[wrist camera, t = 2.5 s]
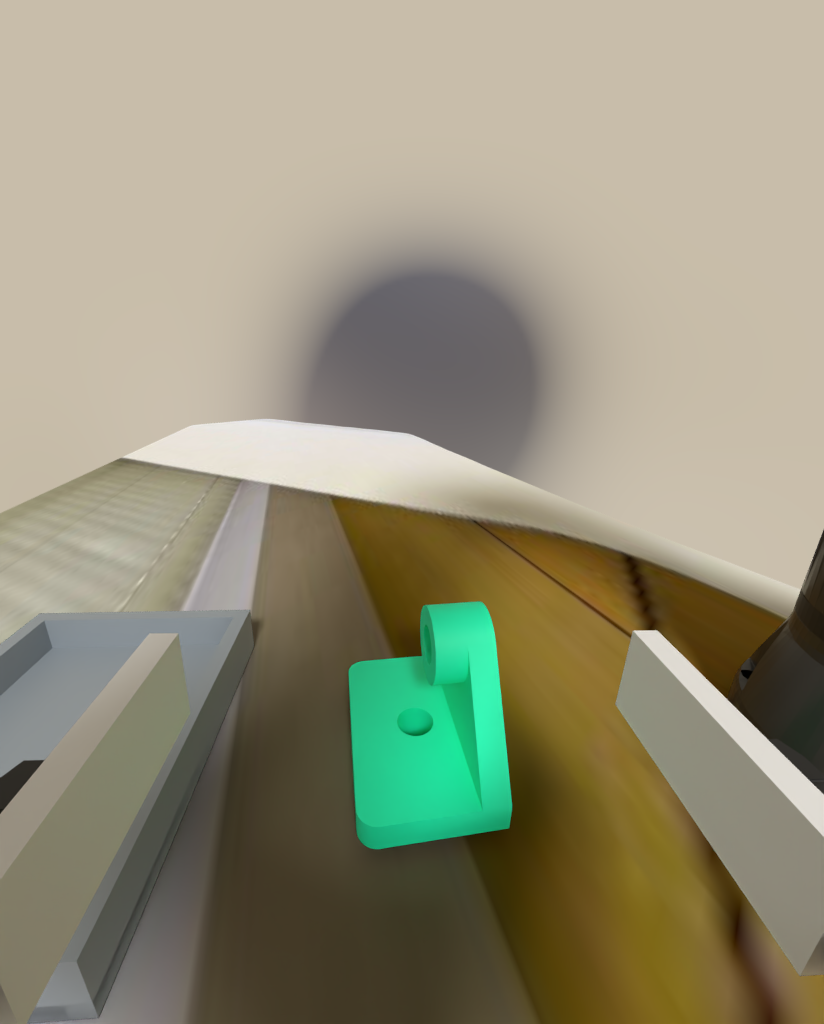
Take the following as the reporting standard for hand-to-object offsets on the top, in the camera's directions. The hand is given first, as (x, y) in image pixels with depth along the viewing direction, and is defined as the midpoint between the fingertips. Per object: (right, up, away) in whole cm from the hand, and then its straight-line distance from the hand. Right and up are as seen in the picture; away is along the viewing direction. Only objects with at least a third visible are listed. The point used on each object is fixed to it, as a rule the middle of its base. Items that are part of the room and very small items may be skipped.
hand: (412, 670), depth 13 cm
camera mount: (0, -11, +15) cm, 18 cm away
